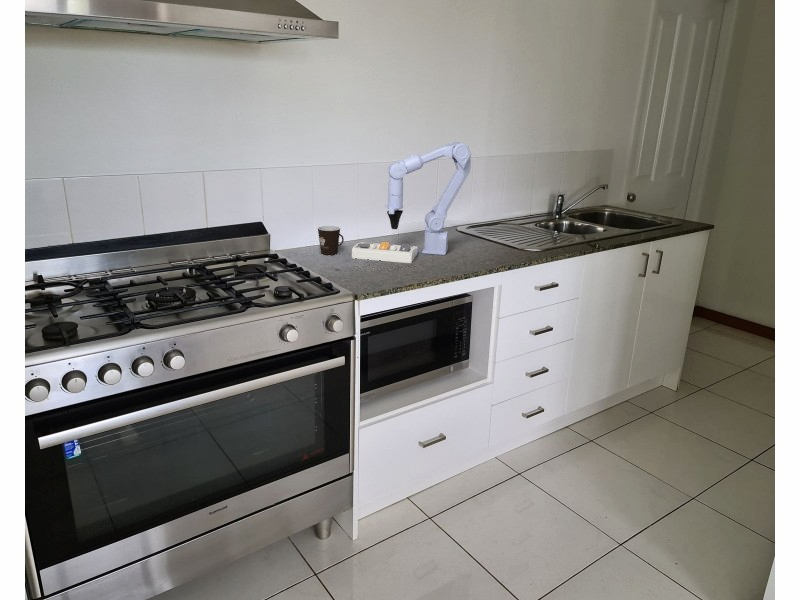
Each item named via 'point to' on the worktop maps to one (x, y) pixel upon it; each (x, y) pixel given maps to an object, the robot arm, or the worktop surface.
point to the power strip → (384, 253)
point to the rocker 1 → (363, 245)
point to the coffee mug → (329, 239)
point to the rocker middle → (384, 246)
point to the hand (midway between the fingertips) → (394, 228)
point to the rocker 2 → (404, 247)
